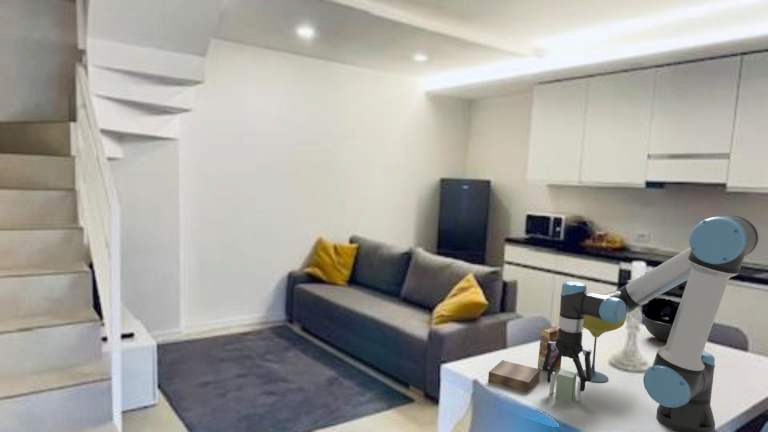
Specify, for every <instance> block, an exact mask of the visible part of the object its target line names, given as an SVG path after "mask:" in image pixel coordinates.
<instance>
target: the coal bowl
mask: <svg viewBox="0 0 768 432" xmlns="http://www.w3.org/2000/svg"><path fill="white" fill-rule="evenodd" d="M675 303H677V301H675V300H672V299H670V298H669V299H666V298H661V297H660V298H653V299H651V300H649V301H648V304H647V309H646V311H645V312H644V314H643V315H642V322H643V324H644V326H645V328H646V330H647V332H648V333H649V334H651V336H653V337H654V338H656V339H657V340H660V341H663V342H667V341H668V338H669V335H670V332H671V329H672V326H673V323H674V320H675V317H676V314H677V311H678V308H679V307H677V306H676V305H674V304H675ZM667 307H669V308H670V310H669V313H662V311H664V309H666V308H667Z"/></svg>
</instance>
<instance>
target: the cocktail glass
mask: <svg viewBox="0 0 768 432" xmlns="http://www.w3.org/2000/svg"><path fill="white" fill-rule="evenodd" d="M625 322H626V315H625V316H624V318H623V319H622V321H621V322H619V323H613V322H606V321H604V320H601V319H597V318H593V317H590V316H586V315H584V321H583V329H586V330H587V331H589V333H590V334H591V335H592V337H593V338H594V344H593V351H592V352H593V354H592V362H591V363H592V364H591V371H592V379H591V381H590V382H591V383H599V384H600V383H602V384H603V383H607V382H608V381H609V377H608V376H607V375H606V374H604V373H602V372H599V371H596V370H595V363H596V351H597V350H596V347H597V338H600V337H601V336H602V335H603V334H605V333H607V332H612V331H615V330H618V329H620V328H622V327H623V326H624V325H625ZM583 371H584V373H585V376H586V369H583ZM576 373H577V374H576V376H578V377H579V374H578V371H577V372H576ZM590 382H589V383H590Z"/></svg>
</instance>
